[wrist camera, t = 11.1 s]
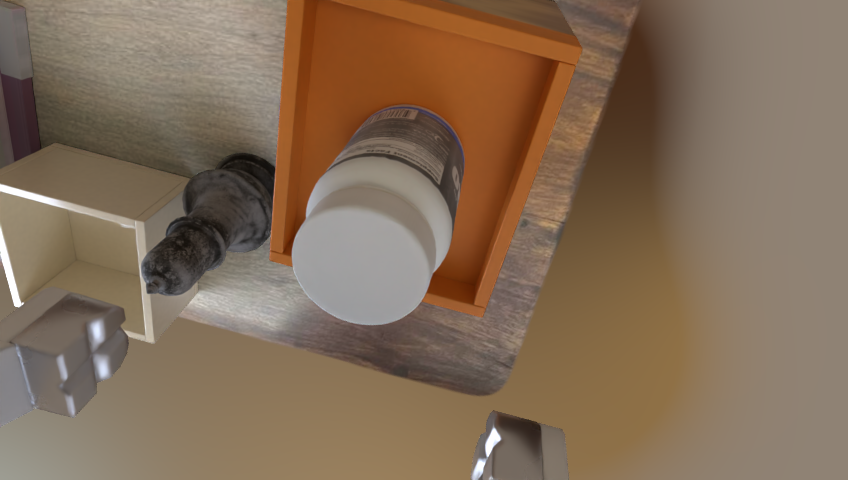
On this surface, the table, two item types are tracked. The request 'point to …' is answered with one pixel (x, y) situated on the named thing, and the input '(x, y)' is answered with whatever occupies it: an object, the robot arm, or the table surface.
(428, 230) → the pill bottle
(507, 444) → the robot arm
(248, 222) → the chess bishop
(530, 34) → the amber tray
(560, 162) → the table surface
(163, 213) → the cream bin
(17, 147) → the book
